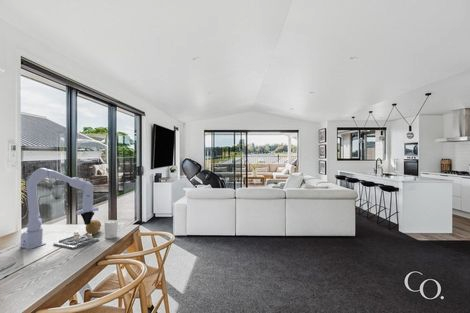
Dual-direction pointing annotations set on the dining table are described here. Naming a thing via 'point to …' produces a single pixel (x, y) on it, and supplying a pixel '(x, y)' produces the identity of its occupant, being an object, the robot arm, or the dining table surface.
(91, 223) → the potato
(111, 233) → the white cup
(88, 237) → the panel
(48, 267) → the dining table surface
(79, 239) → the breaker
